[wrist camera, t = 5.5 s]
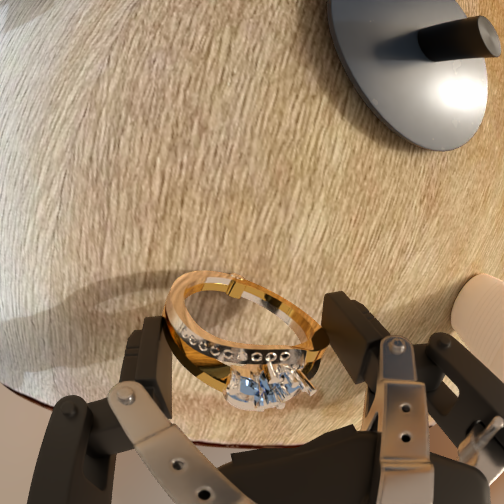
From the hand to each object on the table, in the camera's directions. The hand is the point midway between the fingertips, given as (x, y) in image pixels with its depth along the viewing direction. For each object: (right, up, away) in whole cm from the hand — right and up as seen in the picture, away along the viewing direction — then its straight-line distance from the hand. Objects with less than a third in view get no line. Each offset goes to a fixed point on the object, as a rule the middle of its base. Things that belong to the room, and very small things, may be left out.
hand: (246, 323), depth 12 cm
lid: (+11, +15, 0) cm, 19 cm away
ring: (-1, +2, +4) cm, 4 cm away
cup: (+21, -2, +10) cm, 23 cm away
